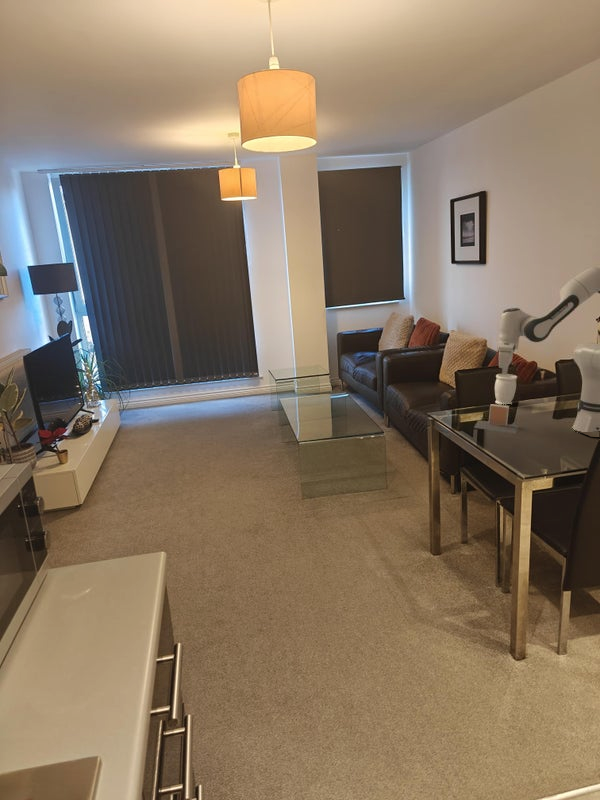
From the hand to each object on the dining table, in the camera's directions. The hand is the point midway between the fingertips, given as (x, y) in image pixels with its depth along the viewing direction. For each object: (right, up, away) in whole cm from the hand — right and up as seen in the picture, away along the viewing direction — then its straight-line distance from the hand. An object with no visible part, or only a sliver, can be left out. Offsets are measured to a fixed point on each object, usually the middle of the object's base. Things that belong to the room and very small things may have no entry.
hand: (504, 373), depth 245 cm
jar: (+13, -14, +35) cm, 40 cm away
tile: (-3, -23, +1) cm, 23 cm away
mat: (-5, -25, -2) cm, 25 cm away
